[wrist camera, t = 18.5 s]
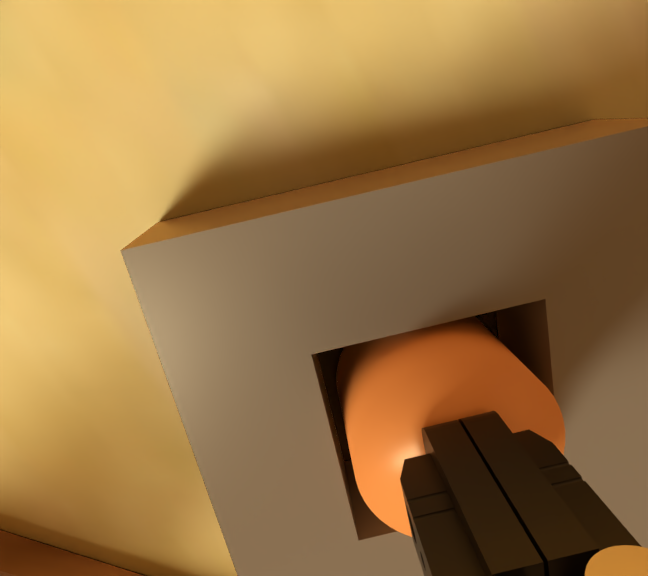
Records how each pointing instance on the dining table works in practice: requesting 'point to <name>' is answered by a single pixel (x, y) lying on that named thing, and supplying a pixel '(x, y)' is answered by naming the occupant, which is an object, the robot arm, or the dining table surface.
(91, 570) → the picture frame
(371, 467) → the button
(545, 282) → the button box
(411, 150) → the dining table surface
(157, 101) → the dining table surface
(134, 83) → the dining table surface
